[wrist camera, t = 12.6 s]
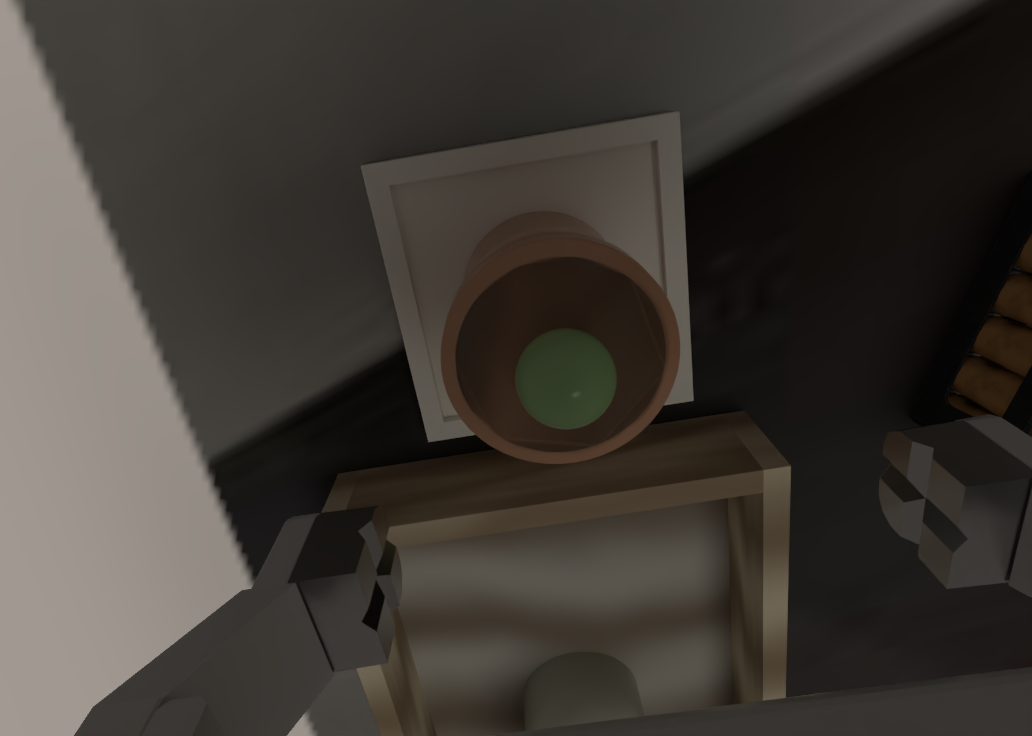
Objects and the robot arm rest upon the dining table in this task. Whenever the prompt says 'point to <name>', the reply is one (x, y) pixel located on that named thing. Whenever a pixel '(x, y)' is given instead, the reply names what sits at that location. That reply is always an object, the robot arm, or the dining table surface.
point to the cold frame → (583, 574)
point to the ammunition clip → (990, 338)
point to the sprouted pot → (557, 342)
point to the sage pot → (580, 691)
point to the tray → (518, 190)
